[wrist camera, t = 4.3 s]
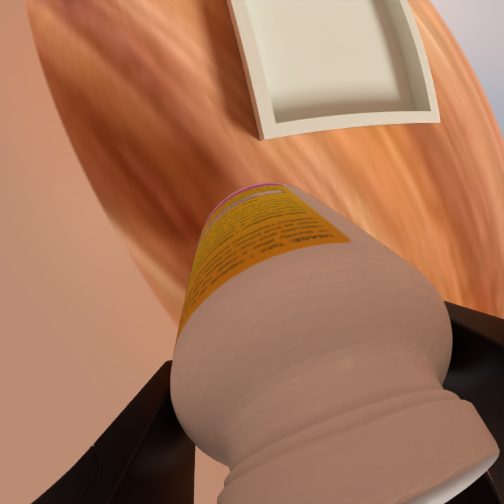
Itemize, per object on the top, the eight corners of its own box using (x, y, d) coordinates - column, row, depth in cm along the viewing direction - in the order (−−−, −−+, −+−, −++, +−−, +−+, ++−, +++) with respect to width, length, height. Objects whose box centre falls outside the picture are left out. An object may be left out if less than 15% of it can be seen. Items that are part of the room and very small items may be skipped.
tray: (420, 122, 17) (440, 122, 15) (259, 140, 17) (264, 139, 15) (380, -16, 13) (394, -28, 10) (221, -18, 13) (220, -35, 10)
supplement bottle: (181, 279, 14) (122, 550, 3) (233, 157, 13) (329, 381, 1) (294, 319, 16) (371, 543, 4) (353, 216, 14) (567, 390, 2)
